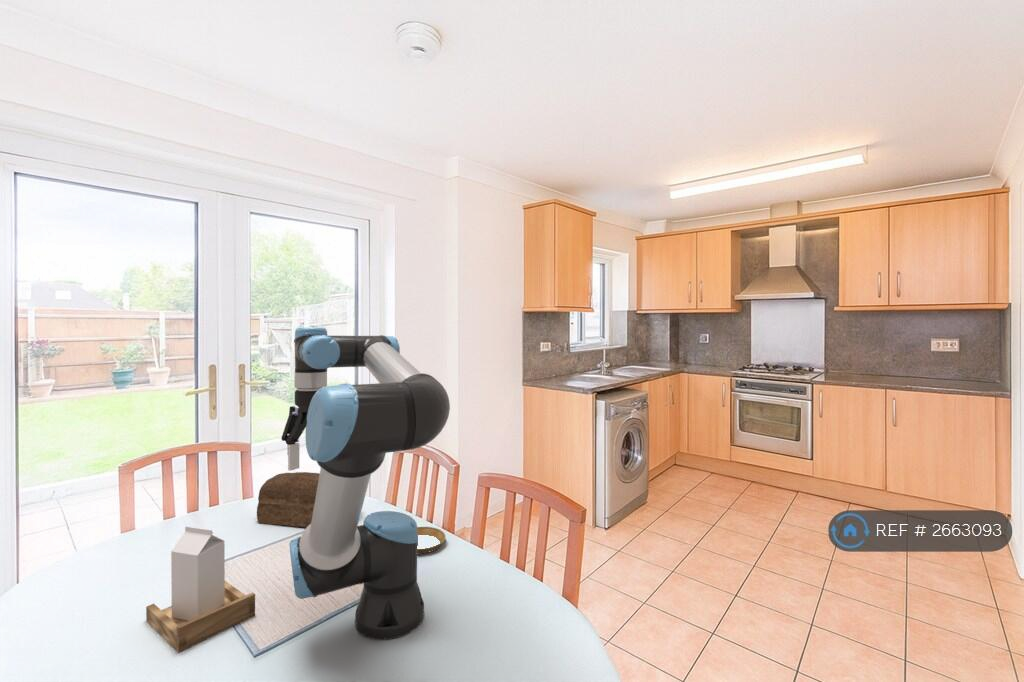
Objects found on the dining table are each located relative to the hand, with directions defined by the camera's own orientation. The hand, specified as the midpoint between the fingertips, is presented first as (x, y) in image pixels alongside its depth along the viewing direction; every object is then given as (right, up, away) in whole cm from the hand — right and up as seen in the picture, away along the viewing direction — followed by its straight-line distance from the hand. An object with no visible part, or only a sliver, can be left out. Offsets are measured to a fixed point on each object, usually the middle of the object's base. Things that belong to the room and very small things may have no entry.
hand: (310, 473), depth 118 cm
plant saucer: (+23, -29, +24) cm, 44 cm away
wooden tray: (-19, -29, -13) cm, 37 cm away
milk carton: (-20, -28, -12) cm, 36 cm away
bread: (-18, -27, +41) cm, 52 cm away
